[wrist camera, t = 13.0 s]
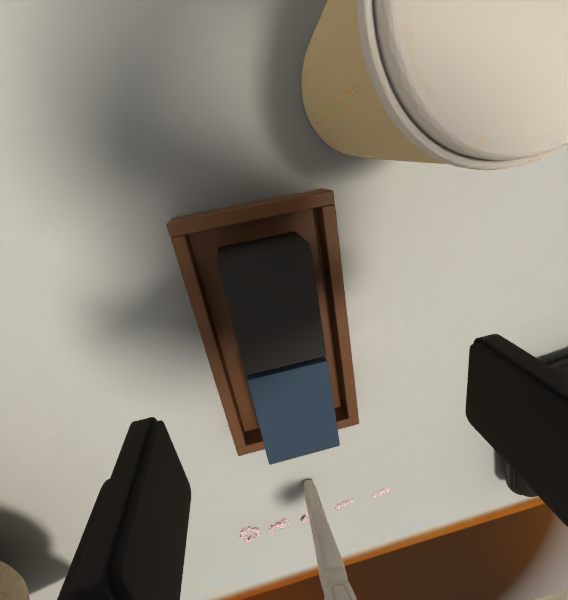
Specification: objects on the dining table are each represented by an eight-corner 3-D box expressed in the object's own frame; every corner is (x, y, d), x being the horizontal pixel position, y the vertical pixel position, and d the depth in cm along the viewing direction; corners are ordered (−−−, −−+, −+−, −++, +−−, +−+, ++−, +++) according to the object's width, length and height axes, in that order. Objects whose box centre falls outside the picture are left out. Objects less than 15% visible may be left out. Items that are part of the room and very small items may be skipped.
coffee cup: (450, -15, 18) (805, -310, 7) (429, 168, 21) (644, 164, 10) (282, -23, 17) (394, -400, 6) (288, 174, 20) (364, 176, 9)
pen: (292, 494, 30) (343, 734, 17) (294, 472, 29) (350, 708, 16) (319, 491, 31) (387, 723, 18) (322, 469, 30) (397, 697, 17)
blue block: (243, 347, 23) (247, 381, 20) (311, 331, 24) (327, 360, 20) (263, 423, 26) (269, 465, 22) (323, 407, 26) (340, 446, 23)
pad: (217, 247, 20) (216, 263, 17) (295, 231, 21) (310, 243, 17) (242, 343, 23) (245, 376, 19) (311, 327, 24) (326, 356, 20)
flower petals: (242, 540, 32) (242, 547, 31) (237, 527, 31) (237, 534, 30) (389, 494, 33) (392, 500, 32) (387, 480, 32) (390, 486, 31)
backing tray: (171, 218, 20) (165, 223, 18) (323, 188, 21) (333, 189, 19) (237, 436, 27) (238, 456, 25) (350, 406, 28) (359, 424, 26)
